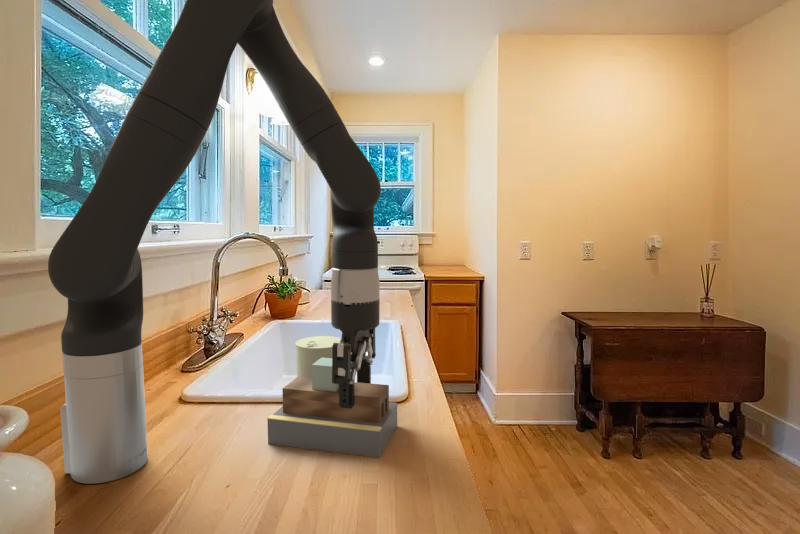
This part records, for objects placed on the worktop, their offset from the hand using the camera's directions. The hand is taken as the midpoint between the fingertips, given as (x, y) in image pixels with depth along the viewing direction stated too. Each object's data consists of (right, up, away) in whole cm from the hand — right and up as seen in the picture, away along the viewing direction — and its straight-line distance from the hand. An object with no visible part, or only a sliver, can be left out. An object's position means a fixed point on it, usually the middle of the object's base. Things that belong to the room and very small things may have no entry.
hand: (355, 397), depth 75 cm
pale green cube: (-4, +1, +1) cm, 5 cm away
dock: (-3, -6, +2) cm, 7 cm away
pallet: (-3, -3, +1) cm, 4 cm away
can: (-8, -5, +16) cm, 19 cm away
